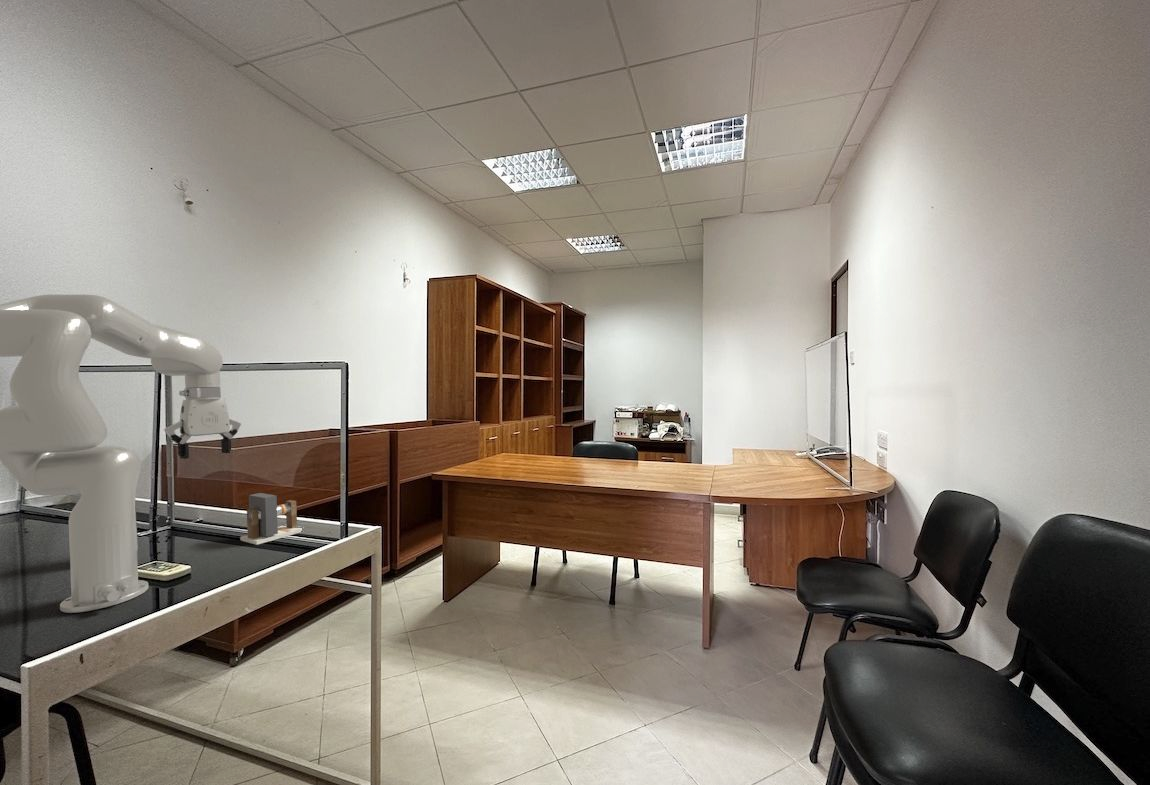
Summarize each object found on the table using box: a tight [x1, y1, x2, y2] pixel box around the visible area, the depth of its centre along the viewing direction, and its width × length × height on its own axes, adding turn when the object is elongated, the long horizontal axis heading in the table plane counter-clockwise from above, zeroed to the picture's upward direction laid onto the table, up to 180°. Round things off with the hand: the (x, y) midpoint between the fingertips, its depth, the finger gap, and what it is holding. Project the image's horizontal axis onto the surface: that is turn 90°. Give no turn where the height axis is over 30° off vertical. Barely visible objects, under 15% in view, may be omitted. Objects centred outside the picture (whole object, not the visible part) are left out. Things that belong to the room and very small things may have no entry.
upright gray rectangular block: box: [248, 492, 279, 537], centre depth 129 cm, size 9×3×11 cm, turn 61°
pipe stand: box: [240, 499, 302, 546], centre depth 131 cm, size 9×13×9 cm
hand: (205, 455), depth 124 cm, fingers open, 9 cm apart
